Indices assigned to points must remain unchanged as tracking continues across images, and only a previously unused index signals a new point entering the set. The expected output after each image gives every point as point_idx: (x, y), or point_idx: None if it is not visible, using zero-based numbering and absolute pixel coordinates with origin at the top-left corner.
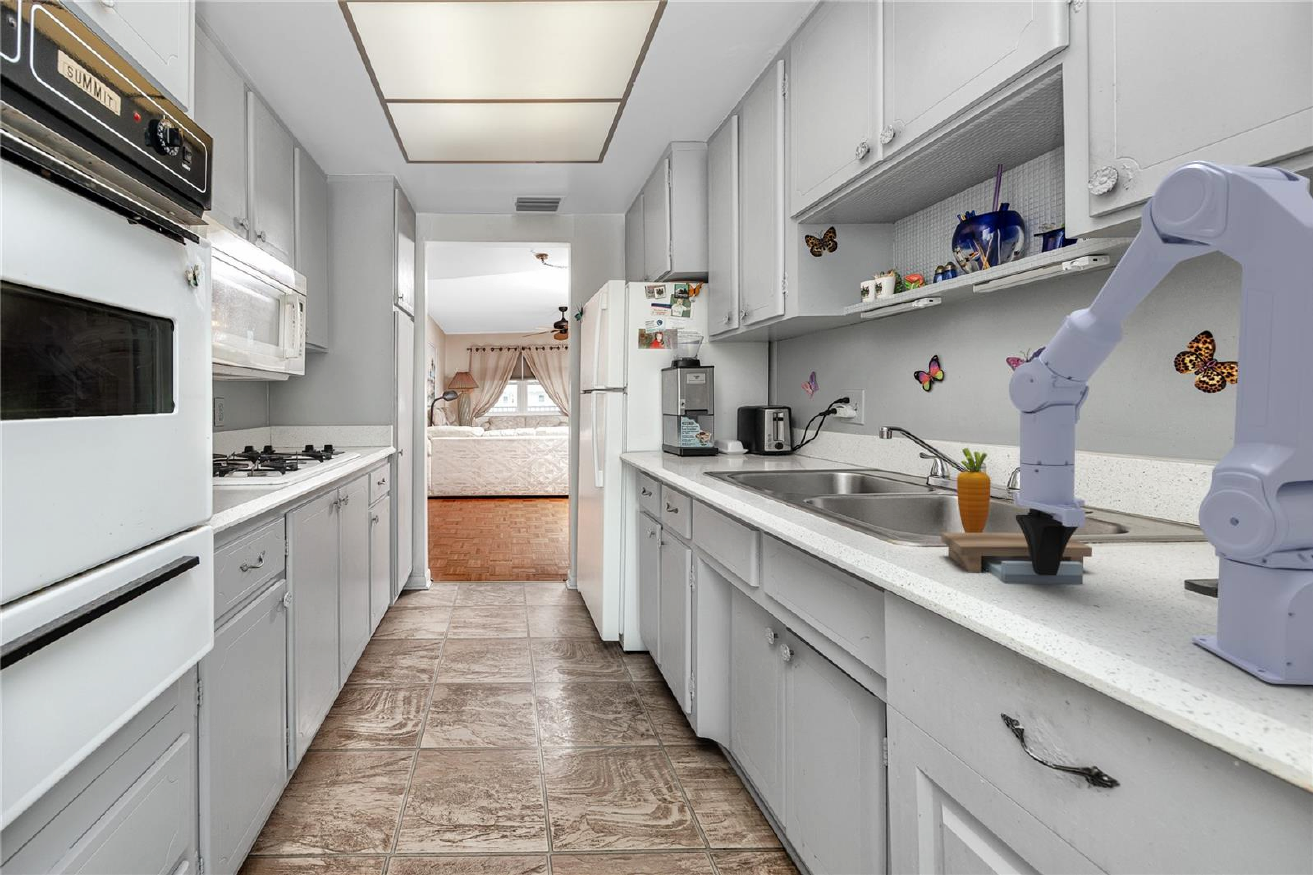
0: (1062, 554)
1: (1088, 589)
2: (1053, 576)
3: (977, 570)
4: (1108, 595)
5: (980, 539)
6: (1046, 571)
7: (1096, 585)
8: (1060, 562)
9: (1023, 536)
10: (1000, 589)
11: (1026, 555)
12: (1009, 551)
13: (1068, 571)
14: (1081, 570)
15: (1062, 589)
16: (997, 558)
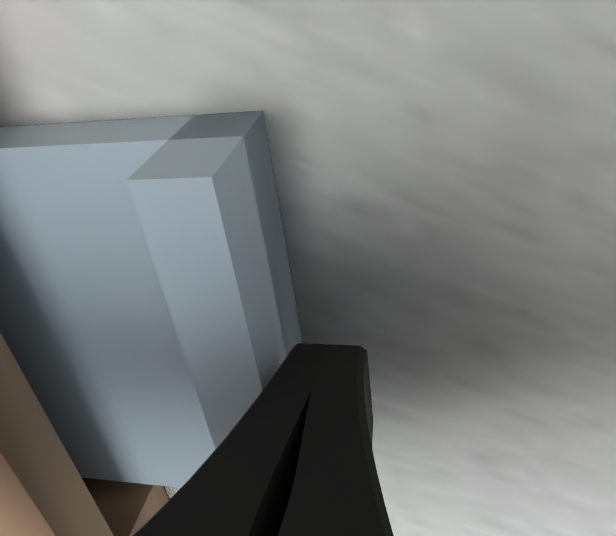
0: (371, 463)
1: (401, 127)
2: (279, 307)
3: (159, 492)
4: (569, 45)
5: None
6: (369, 414)
7: (277, 19)
8: (356, 401)
9: None
10: (436, 508)
11: (30, 396)
12: (58, 487)
13: (255, 247)
14: (232, 162)
15: (415, 280)
16: None
